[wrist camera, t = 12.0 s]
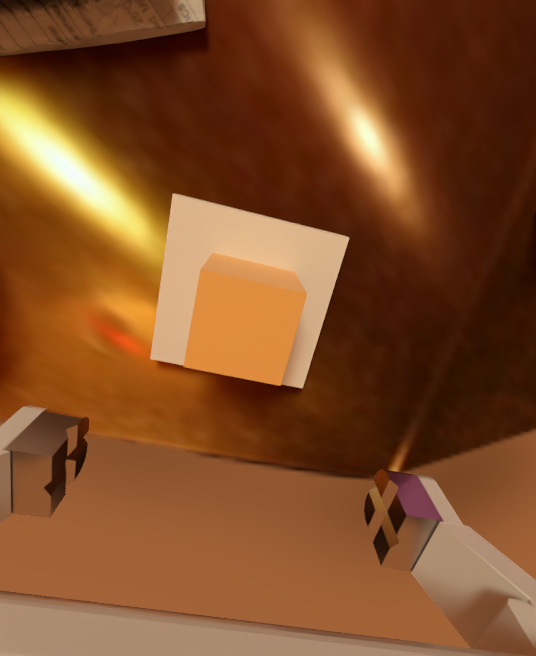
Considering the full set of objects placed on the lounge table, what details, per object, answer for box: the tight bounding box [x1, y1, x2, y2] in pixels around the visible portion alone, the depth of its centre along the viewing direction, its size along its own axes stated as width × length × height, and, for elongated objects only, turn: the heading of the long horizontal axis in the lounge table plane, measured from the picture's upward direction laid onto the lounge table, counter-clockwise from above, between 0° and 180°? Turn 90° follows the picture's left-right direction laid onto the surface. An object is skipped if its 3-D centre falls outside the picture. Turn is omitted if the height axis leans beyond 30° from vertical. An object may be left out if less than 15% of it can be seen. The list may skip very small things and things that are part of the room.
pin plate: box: [150, 194, 349, 388], centre depth 24 cm, size 12×12×6 cm
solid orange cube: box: [183, 253, 307, 386], centre depth 22 cm, size 6×6×6 cm
